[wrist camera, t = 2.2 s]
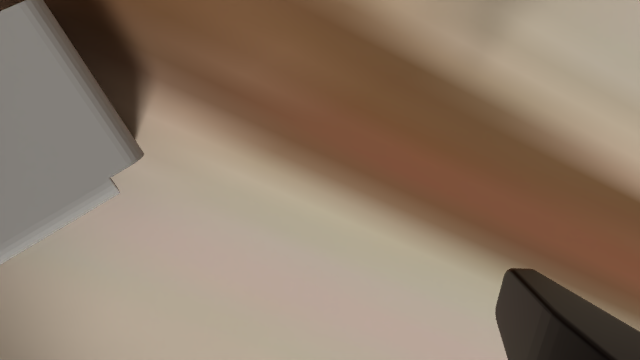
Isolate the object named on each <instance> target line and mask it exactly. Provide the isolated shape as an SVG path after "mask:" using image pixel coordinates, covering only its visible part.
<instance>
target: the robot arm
mask: <svg viewBox="0 0 640 360" xmlns="http://www.w3.org/2000/svg"><path fill="white" fill-rule="evenodd" d="M496 320H497V324H498V328H499V331H500V334H501V338H502V341H503V344H504V348H505V351H506V354H507V358H508V360H640V332H639V331H638V330H636V329H634V328H632V327H631V326H629V325H627V324H626V323H624V322H622V321H621V320H619V319H617V318H615V317H614V316H612V315H610V314H609V313H607V312H605V311H603V310H602V309H600V308H598V307H597V306H595V305H593V304H592V303H590V302H588V301H586V300H585V299H583V298H581V297H580V296H578V295H576V294H575V293H573V292H571V291H569V290H568V289H566V288H564V287H563V286H561V285H559V284H557V283H556V282H554V281H552V280H551V279H549V278H547V277H546V276H544V275H542V274H540V273H539V272H537V271H535V270H533V269H516V268H511V269H509V270H507V271H506V273H505V275H504V278H503V282H502V285H501V289H500V293H499V297H498V300H497V304H496Z"/></svg>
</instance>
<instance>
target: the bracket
mask: <svg viewBox="0 0 640 360" xmlns="http://www.w3.org/2000/svg"><path fill="white" fill-rule="evenodd" d="M143 155H144V153H143V151H142V150H141V148H140V147H139V145H138V144H137V142H136V141H135V139H134V138H133V136H132V135H131V133H130V132H129V130H128V129H127V127H126V126H125V124H124V123H123V121H122V119H121V118H120V116H119V115H118V113H117V112H116V110H115V109H114V107H113V106H112V104H111V103H110V101H109V100H108V98H107V97H106V95H105V94H104V92H103V90H102V89H101V87H100V86H99V84H98V83H97V81H96V80H95V78H94V77H93V75H92V74H91V72H90V71H89V69H88V68H87V66H86V65H85V63H84V62H83V60H82V58H81V57H80V55H79V54H78V52H77V51H76V49H75V48H74V46H73V45H72V43H71V42H70V40H69V39H68V37H67V36H66V34H65V33H64V31H63V30H62V28H61V26H60V25H59V23H58V22H57V20H56V19H55V17H54V16H53V14H52V13H51V11H50V10H49V8H48V7H47V5H46V4H45V2H44V1H43V0H26V1H23V2H21V3H18V4H16V5H13V6H11V7H9V8H6V9H4V10H2V11H0V265H1V264H2V263H4V262H6V261H7V260H9V259H11V258H12V257H14V256H16V255H17V254H19V253H21V252H22V251H24V250H26V249H27V248H29V247H31V246H32V245H34V244H36V243H37V242H39V241H41V240H42V239H44V238H46V237H47V236H49V235H51V234H52V233H54V232H56V231H57V230H59V229H61V228H62V227H64V226H66V225H67V224H69V223H71V222H72V221H74V220H76V219H77V218H79V217H81V216H82V215H84V214H86V213H87V212H89V211H91V210H92V209H94V208H96V207H97V206H99V205H101V204H102V203H104V202H106V201H107V200H109V199H111V198H112V197H114V196H116V195H117V194H119V193H120V192H119V190H118V188H117V186H116V185H115V183H114V182H113V181H112V179H111V178H110V177H112V176H114V175H115V174H117V173H119V172H121V171H122V170H124V169H126V168H127V167H129V166H131V165H132V164H134V163H135V162H137V161H138V160H139V159H141V158H142V157H143Z"/></svg>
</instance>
